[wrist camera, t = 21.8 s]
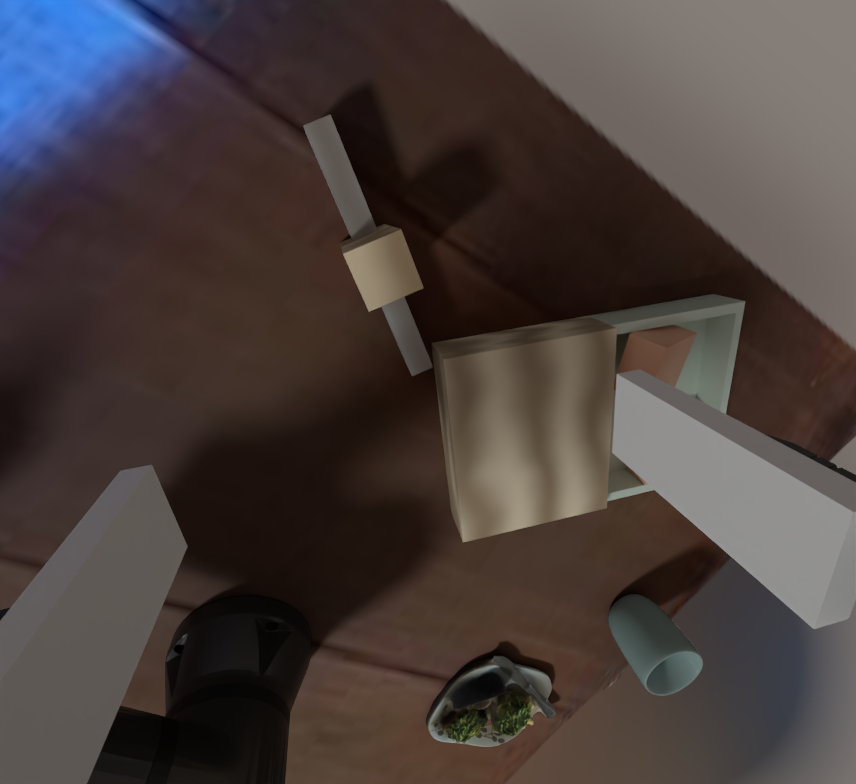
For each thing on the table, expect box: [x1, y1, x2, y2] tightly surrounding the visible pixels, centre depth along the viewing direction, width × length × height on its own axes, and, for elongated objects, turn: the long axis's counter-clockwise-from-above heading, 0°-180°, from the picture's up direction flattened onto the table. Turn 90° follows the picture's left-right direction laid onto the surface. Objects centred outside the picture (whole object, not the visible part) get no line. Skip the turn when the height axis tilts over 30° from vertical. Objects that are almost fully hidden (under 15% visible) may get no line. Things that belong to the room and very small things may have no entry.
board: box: [431, 316, 617, 542], centre depth 45 cm, size 16×20×5 cm
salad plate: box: [426, 656, 556, 747], centre depth 63 cm, size 19×18×5 cm
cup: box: [608, 594, 703, 696], centre depth 58 cm, size 8×8×10 cm
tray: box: [589, 294, 745, 501], centre depth 47 cm, size 14×20×4 cm
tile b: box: [614, 324, 697, 391], centre depth 43 cm, size 6×6×4 cm
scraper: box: [304, 114, 433, 376], centre depth 33 cm, size 4×20×10 cm, turn 21°
